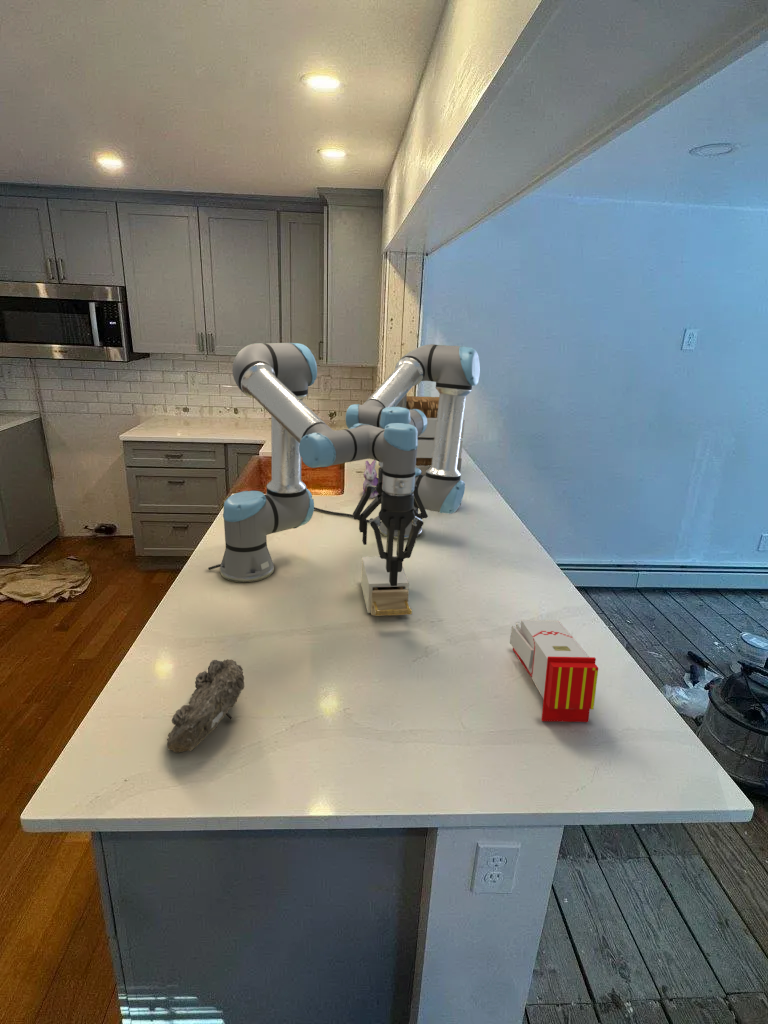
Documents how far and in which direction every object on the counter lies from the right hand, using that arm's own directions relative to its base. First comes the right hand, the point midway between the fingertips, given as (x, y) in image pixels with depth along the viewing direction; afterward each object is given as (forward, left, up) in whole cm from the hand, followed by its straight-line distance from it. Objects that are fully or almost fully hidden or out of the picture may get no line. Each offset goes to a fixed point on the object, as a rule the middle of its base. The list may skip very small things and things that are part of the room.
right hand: (388, 542), depth 156 cm
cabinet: (+3, -4, -14) cm, 15 cm away
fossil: (+20, -61, -14) cm, 66 cm away
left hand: (+15, -12, -3) cm, 19 cm away
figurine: (-68, +50, -14) cm, 85 cm away
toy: (+52, 0, -14) cm, 54 cm away
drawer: (+9, -7, -13) cm, 17 cm away
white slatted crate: (-81, +92, -14) cm, 123 cm away
